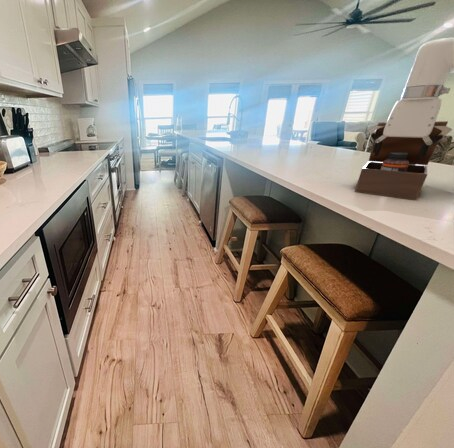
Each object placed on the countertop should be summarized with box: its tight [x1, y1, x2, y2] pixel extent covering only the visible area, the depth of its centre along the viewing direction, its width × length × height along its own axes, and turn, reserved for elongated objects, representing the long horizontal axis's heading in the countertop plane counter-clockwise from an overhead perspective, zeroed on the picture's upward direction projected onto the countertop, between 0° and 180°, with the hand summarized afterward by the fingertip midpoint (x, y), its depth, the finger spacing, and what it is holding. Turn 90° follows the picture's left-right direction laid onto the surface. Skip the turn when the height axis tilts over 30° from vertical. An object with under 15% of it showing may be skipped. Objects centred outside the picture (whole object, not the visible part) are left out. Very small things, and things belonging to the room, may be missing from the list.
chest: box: [354, 161, 428, 201], centre depth 77 cm, size 14×14×8 cm
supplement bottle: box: [381, 152, 409, 172], centre depth 76 cm, size 6×6×11 cm
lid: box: [368, 120, 449, 166], centre depth 74 cm, size 15×14×1 cm
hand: (396, 157), depth 74 cm, fingers open, 9 cm apart
